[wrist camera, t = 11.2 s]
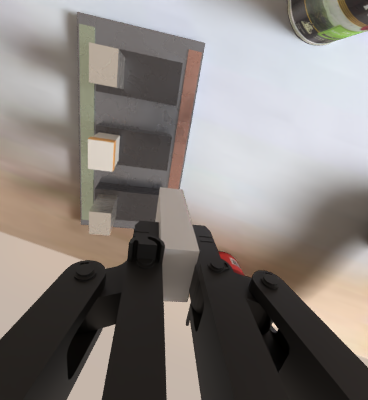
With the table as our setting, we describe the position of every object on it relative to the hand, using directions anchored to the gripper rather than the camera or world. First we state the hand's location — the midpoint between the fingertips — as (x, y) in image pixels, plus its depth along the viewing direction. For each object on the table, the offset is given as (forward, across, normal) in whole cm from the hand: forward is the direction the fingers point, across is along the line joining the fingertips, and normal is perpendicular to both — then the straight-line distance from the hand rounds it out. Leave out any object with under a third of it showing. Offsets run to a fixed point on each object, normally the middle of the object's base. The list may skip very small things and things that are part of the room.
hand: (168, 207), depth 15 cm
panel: (+19, +4, 0) cm, 19 cm away
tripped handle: (+14, +7, 0) cm, 16 cm away
